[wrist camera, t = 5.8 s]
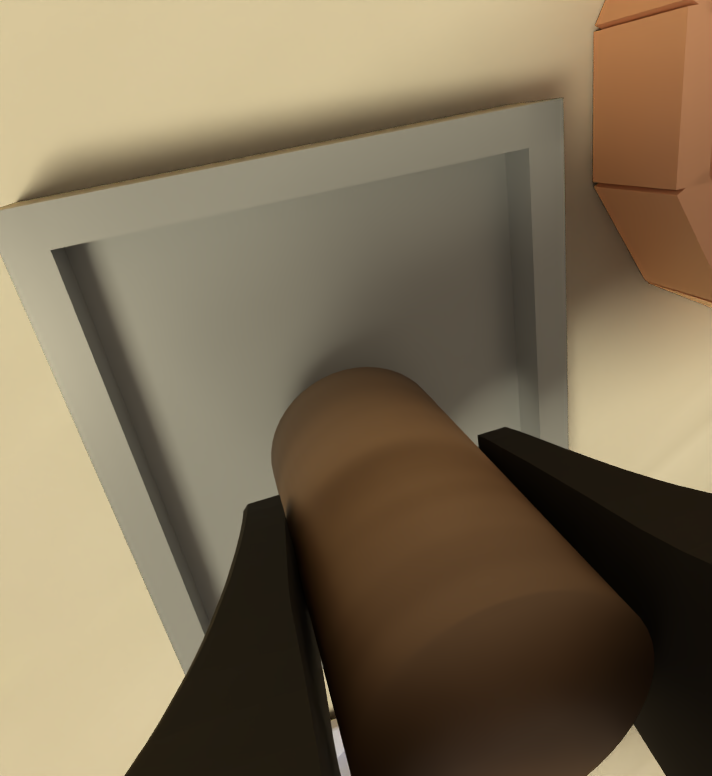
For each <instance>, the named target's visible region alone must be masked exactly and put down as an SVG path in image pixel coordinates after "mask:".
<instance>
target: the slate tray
mask: <svg viewBox="0 0 712 776" xmlns="http://www.w3.org/2000/svg"><path fill="white" fill-rule="evenodd" d="M0 255H1V257H2V259H3V262H4V264H5V266H6V269H7V271H8V273H9V275H10V278H11V280H12V282H13V284H14V287H15V289H16V291H17V294H18V296H19V298H20V300H21V303H22V305H23V307H24V310H25V312H26V314H27V316H28V319H29V321H30V323H31V325H32V328H33V330H34V332H35V335H36V337H37V339H38V341H39V344H40V346H41V348H42V350H43V353H44V355H45V357H46V360H47V362H48V364H49V366H50V369H51V371H52V373H53V376H54V378H55V380H56V382H57V385H58V387H59V389H60V391H61V394H62V396H63V398H64V401H65V403H66V405H67V407H68V410H69V412H70V414H71V417H72V419H73V421H74V423H75V426H76V428H77V430H78V432H79V435H80V437H81V439H82V442H83V444H84V446H85V448H86V451H87V453H88V455H89V457H90V460H91V462H92V464H93V467H94V469H95V471H96V473H97V476H98V478H99V480H100V483H101V485H102V487H103V489H104V492H105V494H106V496H107V498H108V501H109V503H110V505H111V508H112V510H113V512H114V514H115V517H116V519H117V521H118V523H119V526H120V528H121V530H122V533H123V535H124V537H125V539H126V542H127V544H128V546H129V549H130V551H131V553H132V555H133V558H134V560H135V562H136V564H137V567H138V569H139V571H140V574H141V576H142V578H143V580H144V583H145V585H146V587H147V589H148V592H149V594H150V596H151V599H152V601H153V603H154V605H155V608H156V610H157V612H158V615H159V617H160V619H161V621H162V624H163V626H164V628H165V630H166V633H167V635H168V637H169V640H170V642H171V644H172V646H173V649H174V651H175V653H176V656H177V658H178V660H179V662H180V665H181V667H182V669H183V671H184V674H185V676H186V674H187V672H188V670H189V668H190V666H191V664H192V662H193V660H194V658H195V656H196V654H197V652H198V649H199V647H200V645H201V643H202V641H203V639H204V636H205V634H206V632H207V630H208V627H209V625H210V622H211V620H212V617H213V615H214V612H215V609H216V607H217V604H218V602H219V599H220V597H221V594H222V592H223V589H224V586H225V583H226V580H227V577H228V574H229V570H230V567H231V564H232V561H233V558H234V554H235V550H236V547H237V543H238V539H239V535H240V530H241V525H242V519H243V511H244V509H245V508H246V506H247V505H248V504H250V503H253V502H256V501H260V500H263V499H266V498H270V497H273V496H276V495H279V494H278V490H277V486H276V482H275V478H274V474H273V469H272V464H271V449H272V442H273V438H274V434H275V431H276V428H277V426H278V424H279V421H280V419H281V418H282V416H283V414H284V413H285V411H286V410H287V408H288V407H289V406H290V404H291V403H292V402H293V401H294V400H295V399H296V398H297V397H298V396H299V395H300V394H301V393H302V392H303V391H304V390H305V389H307V388H308V387H309V386H311V385H312V384H314V383H315V382H317V381H319V380H320V379H322V378H324V377H326V376H329V375H331V374H333V373H336V372H339V371H342V370H346V369H351V368H358V367H377V368H383V369H388V370H392V371H395V372H398V373H400V374H402V375H404V376H406V377H408V378H410V379H411V380H413V381H414V382H415V383H417V384H418V385H419V386H420V387H421V388H422V389H423V390H424V391H425V392H426V393H427V394H428V395H429V396H430V397H431V398H432V399H433V400H434V401H435V403H436V404H437V405H438V406H439V407H440V408H441V409H442V410H443V411H444V412H445V413H446V414H447V415H448V416H449V417H450V418H451V419H452V420H453V421H454V423H455V424H456V425H457V426H458V427H459V428H460V429H461V430H462V431H463V432H464V433H465V434H466V435H467V436H468V437H469V438H470V439H471V440H472V441H473V442H474V444H475V445H476V446H477V447H478V436H477V435H479V434H483V433H486V432H489V431H493V430H496V429H499V428H503V427H508V428H511V429H514V430H517V431H520V432H523V433H526V434H529V435H531V436H534V437H537V438H539V439H542V440H545V441H547V442H550V443H552V444H555V445H558V446H560V447H563V448H565V449H568V386H567V317H566V249H565V180H564V112H563V98H556V99H548V100H540V101H531V102H523V103H515V104H509V105H504V106H499V107H494V108H489V109H484V110H479V111H474V112H469V113H464V114H459V115H454V116H449V117H444V118H439V119H433V120H428V121H423V122H418V123H413V124H408V125H403V126H398V127H393V128H388V129H383V130H378V131H373V132H368V133H363V134H358V135H353V136H348V137H343V138H338V139H333V140H328V141H323V142H318V143H313V144H308V145H303V146H298V147H293V148H287V149H282V150H277V151H272V152H267V153H262V154H257V155H252V156H247V157H242V158H237V159H232V160H227V161H222V162H217V163H212V164H207V165H202V166H197V167H192V168H187V169H182V170H177V171H172V172H167V173H162V174H157V175H152V176H147V177H141V178H136V179H131V180H126V181H121V182H116V183H111V184H106V185H101V186H96V187H91V188H86V189H81V190H76V191H71V192H66V193H61V194H56V195H51V196H46V197H41V198H36V199H31V200H26V201H21V202H16V203H12V204H9V205H6V206H3V207H1V208H0ZM478 448H479V447H478ZM321 663H322V661H321ZM322 669H323V665H322Z"/></svg>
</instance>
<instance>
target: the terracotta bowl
mask: <svg viewBox="0 0 712 776" xmlns="http://www.w3.org/2000/svg"><path fill="white" fill-rule="evenodd" d="M595 26H597V27H598V28H600V29H602V30H599V31H595V32H594V82H593V182H598V184H596V185H595V186H594V188H595V190H596V192H597V193H598V195H599V197H600V199H601V201H602V202H603V204H604V206H605V208H606V210H607V212H608V213H609V215H610V217H611V219H612V221H613V223H614V224H615V226H616V228H617V230H618V232H619V234H620V235H621V237H622V239H623V241H624V243H625V245H626V246H627V248H628V250H629V252H630V254H631V255H632V257H633V259H634V261H635V263H636V265H637V266H638V268H639V270H640V272H641V274H642V276H643V277H644V279H645V281H648V283H649V284H652V285H654V286H657V287H659V288H662V289H665V290H667V291H670V292H672V293H675V294H678V295H680V296H683V297H685V298H688V299H690V300H693V301H696V302H698V303H701V304H703V305H706V306H708V307H711V308H712V0H605V2H604V5H603V7H602V10H601V12H600V15H599V17H598V19H597V22H596V24H595Z"/></svg>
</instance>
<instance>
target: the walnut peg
mask: <svg viewBox="0 0 712 776" xmlns="http://www.w3.org/2000/svg"><path fill="white" fill-rule="evenodd" d="M271 464H272V469H273V474H274V478H275V482H276V486H277V490H278V494H279V495H280V498H281V502H282V505H283V509H284V512H285V516H286V519H287V523H288V527H289V531H290V535H291V539H292V543H293V546H294V550H295V554H296V560H297V565H298V570H299V574H300V579H301V583H302V587H303V591H304V595H305V599H306V603H307V607H308V610H309V614H310V618H311V622H312V626H313V630H314V634H315V638H316V642H317V646H318V649H319V653H320V657H321V661H322V665H323V669H324V673H325V677H326V681H327V684H328V688H329V692H330V696H331V700H332V704H333V708H334V712H335V716H336V720H337V723H338V727H339V731H340V735H341V739H342V743H343V747H344V751H345V755H346V758H347V762H348V766H349V770H350V774H351V776H587V775H588V774H589V773H590V772H592V771H593V770H594V769H595V768H596V767H597V766H598V765H599V764H600V763H601V762H602V761H603V760H604V759H605V758H606V757H607V756H608V755H609V754H610V753H611V752H612V751H613V750H614V749H615V747H616V746H617V745H618V744H619V743H620V742H621V740H622V739H623V738H624V736H625V735H626V734H627V732H628V731H629V729H630V728H631V727H632V725H633V723H634V722H635V720H636V718H637V716H638V715H639V713H640V711H641V709H642V707H643V705H644V703H645V700H646V698H647V695H648V692H649V689H650V686H651V683H652V677H653V672H654V649H653V644H652V639H651V637H650V634H649V632H648V629H647V627H646V626H645V624H644V623H643V621H642V620H641V618H640V617H639V616H638V615H637V614H636V613H635V612H634V611H633V610H632V609H631V608H630V606H629V605H628V604H627V603H626V602H625V601H624V600H623V599H622V598H621V597H620V596H619V595H618V594H617V593H616V592H615V591H614V590H613V589H612V588H611V587H610V585H609V584H608V583H607V582H606V581H605V580H604V579H603V578H602V577H601V576H600V575H599V574H598V573H597V572H596V571H595V570H594V569H593V568H592V567H591V565H590V564H589V563H588V562H587V561H586V560H585V559H584V558H583V557H582V556H581V555H580V554H579V553H578V552H577V551H576V550H575V549H574V548H573V547H572V546H571V544H570V543H569V542H568V541H567V540H566V539H565V538H564V537H563V536H562V535H561V534H560V533H559V532H558V531H557V530H556V529H555V528H554V527H553V526H552V524H551V523H550V522H549V521H548V520H547V519H546V518H545V517H544V516H543V515H542V514H541V513H540V512H539V511H538V510H537V509H536V508H535V507H534V506H533V505H532V503H531V502H530V501H529V500H528V499H527V498H526V497H525V496H524V495H523V494H522V493H521V492H520V491H519V490H518V489H517V488H516V487H515V486H514V485H513V483H512V482H511V481H510V480H509V479H508V478H507V477H506V476H505V475H504V474H503V473H502V472H501V471H500V470H499V469H498V468H497V467H496V466H495V465H494V464H493V462H492V461H491V460H490V459H489V458H488V457H487V456H486V455H485V454H484V453H483V452H482V451H481V450H480V449H479V448H478V447H477V446H476V445H475V444H474V442H473V441H472V440H471V439H470V438H469V437H468V436H467V435H466V434H465V433H464V432H463V431H462V430H461V429H460V428H459V427H458V426H457V425H456V424H455V423H454V421H453V420H452V419H451V418H450V417H449V416H448V415H447V414H446V413H445V412H444V411H443V410H442V409H441V408H440V407H439V406H438V405H437V404H436V403H435V401H434V400H433V399H432V398H431V397H430V396H429V395H428V394H427V393H426V392H425V391H424V390H423V389H422V388H421V387H420V386H419V385H418V384H417V383H415V382H414V381H413V380H411V379H410V378H408V377H406V376H404V375H402V374H400V373H398V372H395V371H392V370H388V369H383V368H377V367H358V368H351V369H346V370H342V371H339V372H336V373H333V374H331V375H329V376H326V377H324V378H322V379H320V380H319V381H317V382H315V383H314V384H312V385H311V386H309V387H308V388H307V389H305V390H304V391H303V392H302V393H301V394H300V395H299V396H298V397H297V398H296V399H295V400H294V401H293V402H292V403H291V404H290V406H289V407H288V408H287V410H286V411H285V413H284V414H283V416H282V418H281V419H280V421H279V424H278V426H277V428H276V431H275V434H274V438H273V442H272V449H271Z"/></svg>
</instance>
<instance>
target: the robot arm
mask: <svg viewBox="0 0 712 776" xmlns="http://www.w3.org/2000/svg"><path fill="white" fill-rule="evenodd" d="M477 436H478V447H479V449H480V450H481V451H482V452H483V453H484V454H485V455H486V456H487V457H488V458H489V459H490V460H491V461H492V462H493V464H494V465H495V466H496V467H497V468H498V469H499V470H500V471H501V472H502V473H503V474H504V475H505V476H506V477H507V478H508V479H509V480H510V481H511V482H512V483H513V485H514V486H515V487H516V488H517V489H518V490H519V491H520V492H521V493H522V494H523V495H524V496H525V497H526V498H527V499H528V500H529V501H530V502H531V503H532V505H533V506H534V507H535V508H536V509H537V510H538V511H539V512H540V513H541V514H542V515H543V516H544V517H545V518H546V519H547V520H548V521H549V522H550V523H551V524H552V526H553V527H554V528H555V529H556V530H557V531H558V532H559V533H560V534H561V535H562V536H563V537H564V538H565V539H566V540H567V541H568V542H569V543H570V544H571V546H572V547H573V548H574V549H575V550H576V551H577V552H578V553H579V554H580V555H581V556H582V557H583V558H584V559H585V560H586V561H587V562H588V563H589V564H590V565H591V567H592V568H593V569H594V570H595V571H596V572H597V573H598V574H599V575H600V576H601V577H602V578H603V579H604V580H605V581H606V582H607V583H608V584H609V585H610V587H611V588H612V589H613V590H614V591H615V592H616V593H617V594H618V595H619V596H620V597H621V598H622V599H623V600H624V601H625V602H626V603H627V604H628V605H629V606H630V608H631V609H632V610H633V611H634V612H635V613H636V614H637V615H638V616H639V617H640V618H641V620H642V621H643V623H644V624H645V626H646V627H647V629H648V632H649V634H650V637H651V639H652V644H653V649H654V672H653V677H652V683H651V686H650V689H649V692H648V695H647V698H646V700H645V703H644V705H643V707H642V709H641V711H640V713H639V715H638V716H637V718H636V720H635V722H634V723H633V724H634V726H635V727H636V729H637V730H638V732H639V734H640V735H641V737H642V738H643V740H644V741H645V743H646V745H647V746H648V748H649V749H650V751H651V753H652V754H653V756H654V757H655V759H656V761H657V762H658V764H659V765H660V767H661V769H662V770H663V772H664V773H665V775H666V776H712V494H711V493H707V492H703V491H699V490H695V489H690V488H686V487H682V486H678V485H674V484H671V483H667V482H663V481H660V480H656V479H653V478H650V477H647V476H644V475H640V474H637V473H634V472H631V471H627V470H624V469H621V468H618V467H615V466H612V465H609V464H607V463H604V462H601V461H598V460H595V459H592V458H590V457H587V456H584V455H581V454H579V453H576V452H573V451H571V450H568V449H565V448H563V447H560V446H558V445H555V444H552V443H550V442H547V441H545V440H542V439H539V438H537V437H534V436H531V435H529V434H526V433H523V432H520V431H517V430H514V429H511V428H508V427H503V428H499V429H496V430H493V431H489V432H486V433H483V434H479V435H477ZM125 776H351V774H350V770H349V766H348V762H347V758H346V755H345V751H344V747H343V743H342V739H341V735H340V731H339V727H338V723H337V720H336V719H333V720H330V714H329V707H328V701H327V695H326V688H325V682H324V676H323V670H322V663H321V657H320V653H319V649H318V646H317V642H316V638H315V634H314V630H313V626H312V622H311V618H310V614H309V610H308V607H307V603H306V599H305V595H304V591H303V587H302V583H301V579H300V574H299V570H298V565H297V560H296V554H295V550H294V546H293V543H292V539H291V535H290V531H289V527H288V523H287V519H286V516H285V512H284V509H283V505H282V502H281V498H280V495H276V496H273V497H270V498H266V499H263V500H260V501H256V502H253V503H250V504H248V505H247V506H246V508H245V509H244V511H243V519H242V525H241V530H240V535H239V539H238V543H237V547H236V550H235V554H234V558H233V561H232V564H231V567H230V570H229V574H228V577H227V580H226V583H225V586H224V589H223V592H222V594H221V597H220V599H219V602H218V604H217V607H216V609H215V612H214V615H213V617H212V620H211V622H210V625H209V627H208V630H207V632H206V634H205V636H204V639H203V641H202V643H201V645H200V647H199V649H198V652H197V654H196V656H195V658H194V660H193V662H192V664H191V666H190V668H189V670H188V672H187V674H186V676H185V678H184V679H183V681H182V683H181V685H180V687H179V688H178V690H177V692H176V694H175V696H174V697H173V699H172V701H171V703H170V704H169V706H168V708H167V710H166V712H165V713H164V715H163V717H162V719H161V720H160V722H159V724H158V725H157V727H156V729H155V730H154V732H153V733H152V735H151V737H150V738H149V740H148V741H147V743H146V745H145V746H144V748H143V749H142V750H141V752H140V753H139V755H138V756H137V758H136V759H135V761H134V762H133V764H132V765H131V767H130V768H129V770H128V771H127V773H126V774H125Z"/></svg>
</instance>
